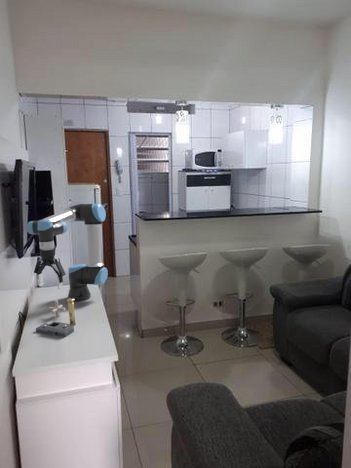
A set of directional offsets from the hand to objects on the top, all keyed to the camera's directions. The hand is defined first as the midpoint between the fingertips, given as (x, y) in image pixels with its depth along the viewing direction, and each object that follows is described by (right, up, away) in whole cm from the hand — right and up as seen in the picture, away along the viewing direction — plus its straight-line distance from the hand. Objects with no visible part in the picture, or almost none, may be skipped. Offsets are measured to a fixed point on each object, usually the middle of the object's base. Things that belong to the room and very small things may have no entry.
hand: (50, 286), depth 195 cm
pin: (+10, -22, +7) cm, 26 cm away
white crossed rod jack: (-2, -21, +19) cm, 28 cm away
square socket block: (+3, -24, -1) cm, 24 cm away
